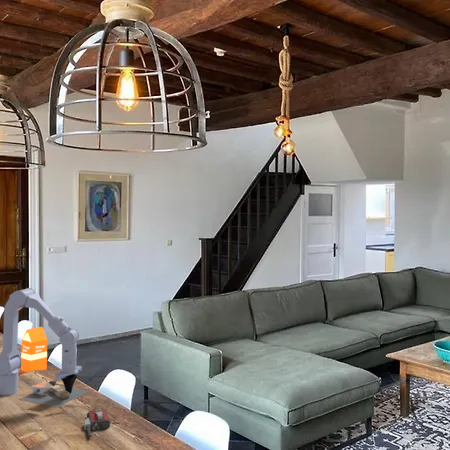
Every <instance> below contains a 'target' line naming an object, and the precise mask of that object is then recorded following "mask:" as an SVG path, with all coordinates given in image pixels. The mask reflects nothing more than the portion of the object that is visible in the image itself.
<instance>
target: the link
mask: <svg viewBox="0 0 450 450" xmlns="http://www.w3.org/2000/svg"><path fill="white" fill-rule="evenodd" d="M49 385H52V387H51V388H50V389H48V390H49V391H51V392H52V393H54V394H55V395H57V396H58V397H60V398H61V399H65V398H69V392H68V391H66V390H65V389H63V388H61V387H60V386H61V385H58V384H57V380H50V381H49Z"/></svg>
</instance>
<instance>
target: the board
mask: <svg viewBox="0 0 450 450" xmlns="http://www.w3.org/2000/svg"><path fill="white" fill-rule="evenodd" d="M59 386H60V387H61V388H63V389H65V386H62V385H59ZM87 393H90V390H86V389H79V388H74V387H73V388H72V392H71V394H69V398H65V399H61V398H60V397H58V396H57V395H55V394H54V393H52V392H51V391H49V390H42V389H40V393H39V394H37V395H35V394H33V393H31V394H28V395H26V396H23V397H21V398H19V399H18V401H23V402H28V403H33V404H38V405H42V406H49V407H54V408H59V407H61V406H63V405H64V404H66V403H68V402H71V401H73V400H75V399H77V398H79V397H81V396H83V395H85V394H87Z"/></svg>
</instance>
